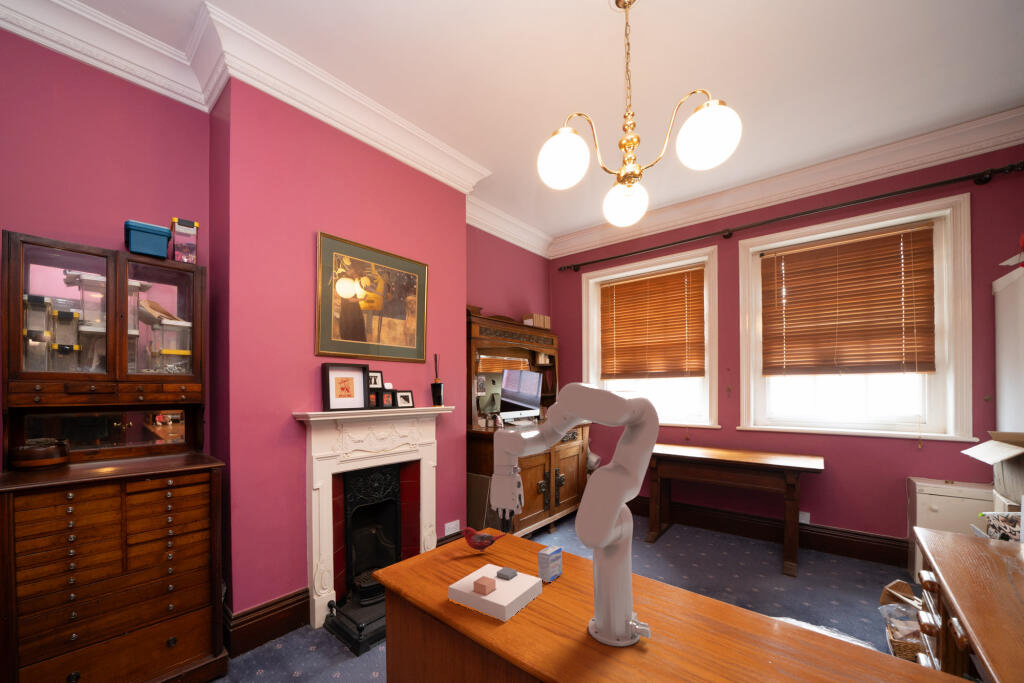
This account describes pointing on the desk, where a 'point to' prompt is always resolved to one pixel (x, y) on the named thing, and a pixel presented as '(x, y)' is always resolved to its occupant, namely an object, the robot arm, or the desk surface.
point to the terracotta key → (484, 585)
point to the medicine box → (550, 563)
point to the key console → (497, 592)
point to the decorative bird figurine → (479, 539)
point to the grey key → (506, 573)
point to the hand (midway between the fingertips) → (506, 531)
